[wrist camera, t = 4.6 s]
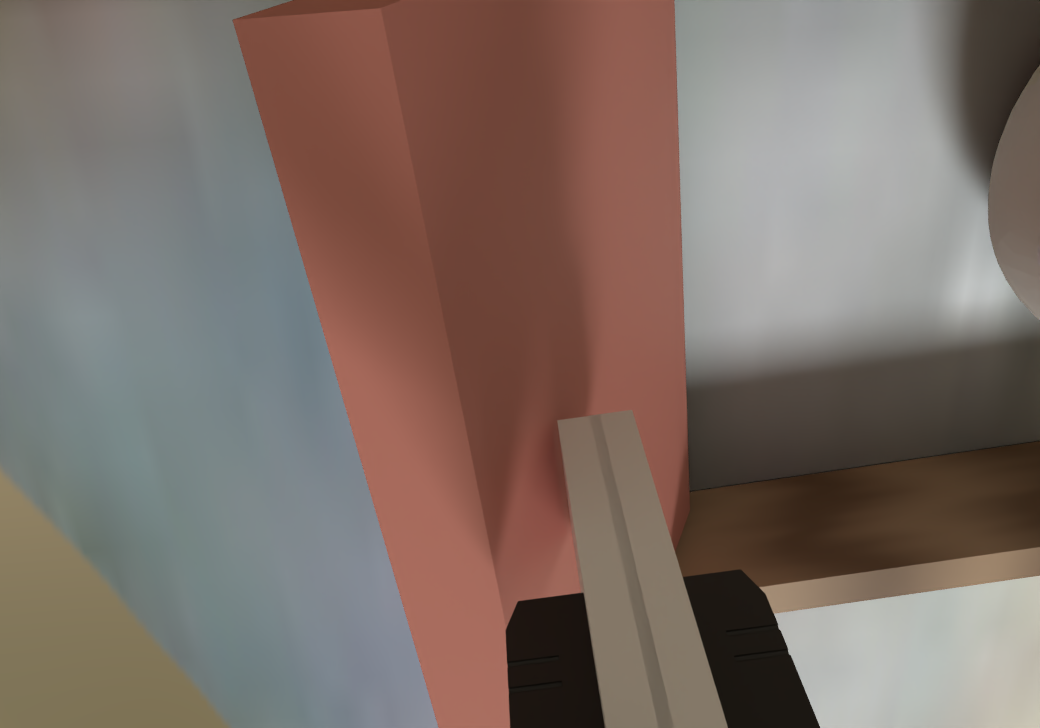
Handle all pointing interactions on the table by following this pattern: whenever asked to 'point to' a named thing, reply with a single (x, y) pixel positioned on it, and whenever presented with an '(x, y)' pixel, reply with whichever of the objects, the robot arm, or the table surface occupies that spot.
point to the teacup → (1019, 198)
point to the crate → (873, 528)
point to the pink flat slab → (484, 279)
